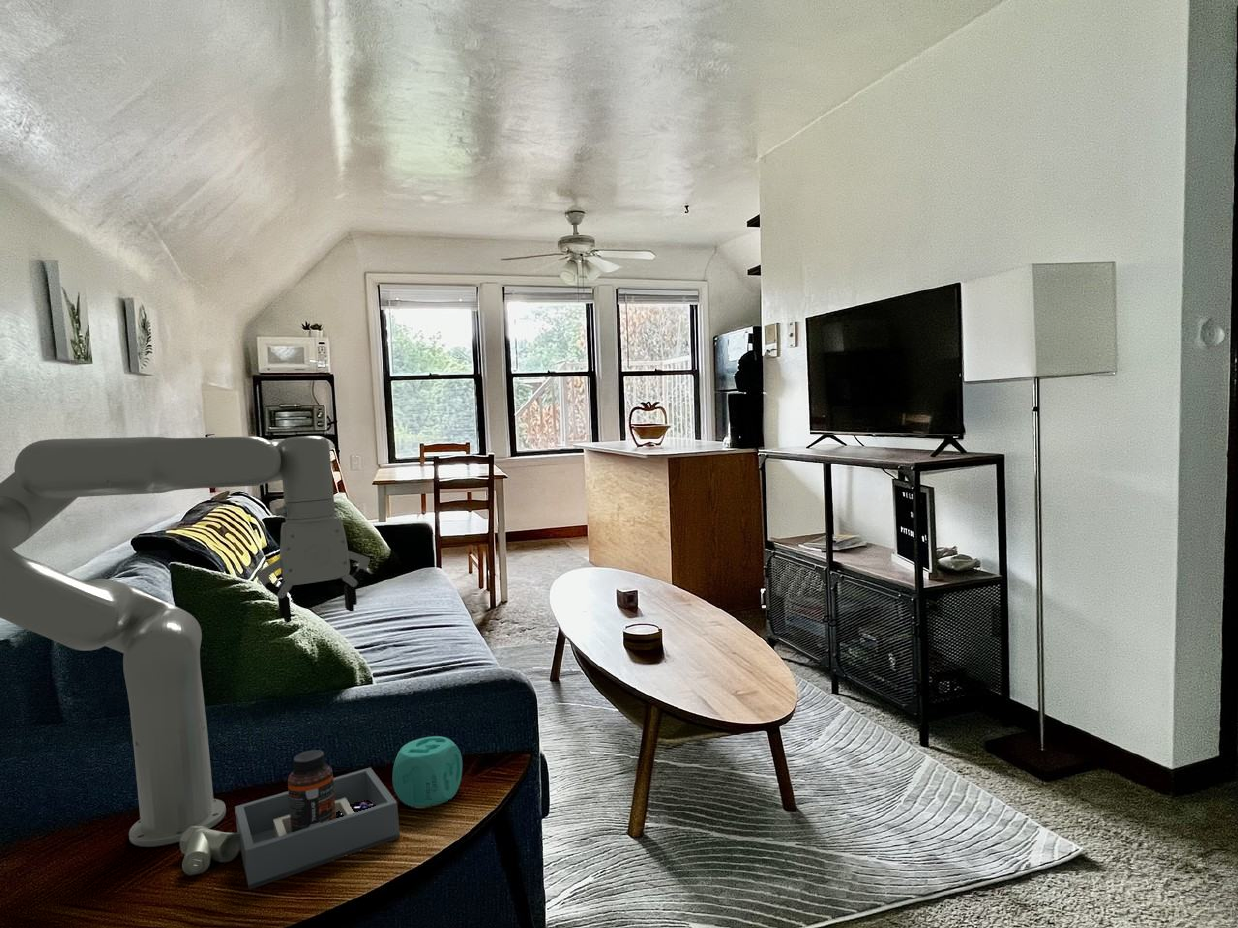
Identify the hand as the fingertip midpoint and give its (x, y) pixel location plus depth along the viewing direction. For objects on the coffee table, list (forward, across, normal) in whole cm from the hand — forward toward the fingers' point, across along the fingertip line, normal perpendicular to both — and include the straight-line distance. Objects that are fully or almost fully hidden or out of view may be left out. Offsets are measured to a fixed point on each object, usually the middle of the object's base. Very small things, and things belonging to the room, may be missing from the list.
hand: (319, 615), depth 121 cm
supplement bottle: (+28, -6, -16) cm, 33 cm away
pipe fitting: (+29, -20, -12) cm, 37 cm away
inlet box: (+28, -6, -17) cm, 33 cm away
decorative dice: (+29, +11, -15) cm, 34 cm away
